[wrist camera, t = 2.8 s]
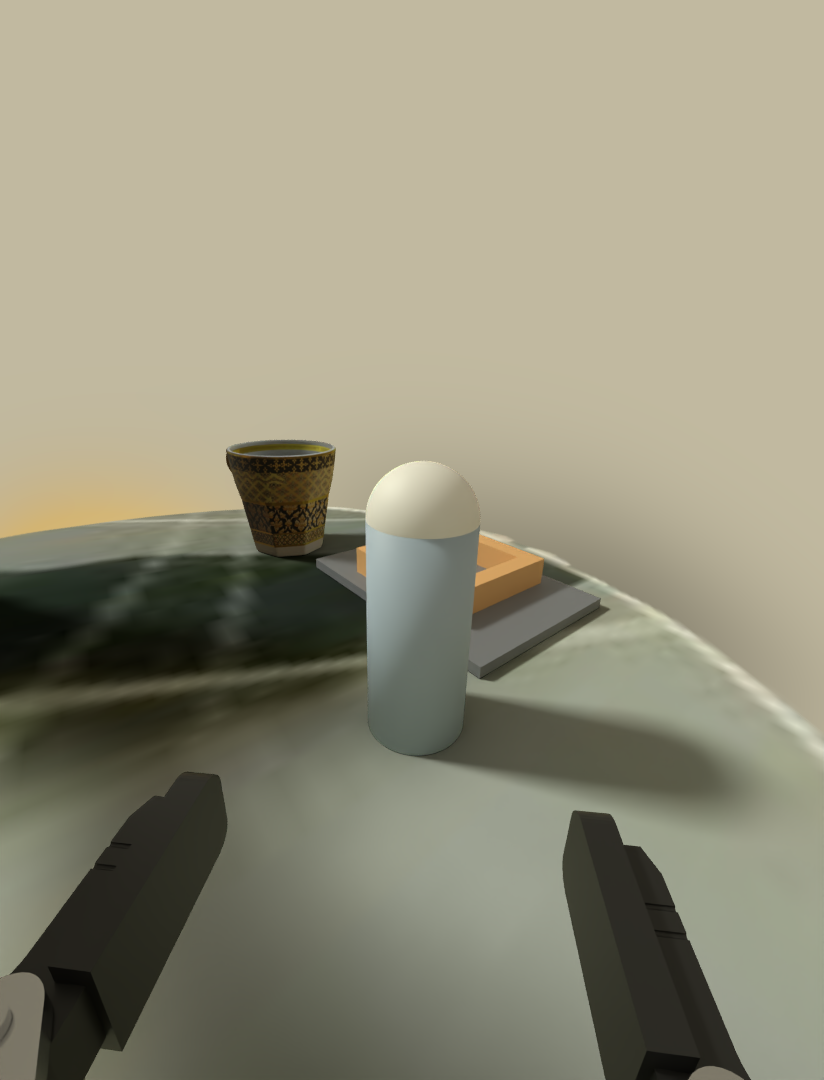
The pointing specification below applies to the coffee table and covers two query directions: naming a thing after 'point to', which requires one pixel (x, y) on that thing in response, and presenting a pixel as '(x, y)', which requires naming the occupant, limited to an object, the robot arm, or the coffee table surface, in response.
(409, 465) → the pale grey cylinder
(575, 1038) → the coffee table surface
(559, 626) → the jig
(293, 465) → the ceramic cup
